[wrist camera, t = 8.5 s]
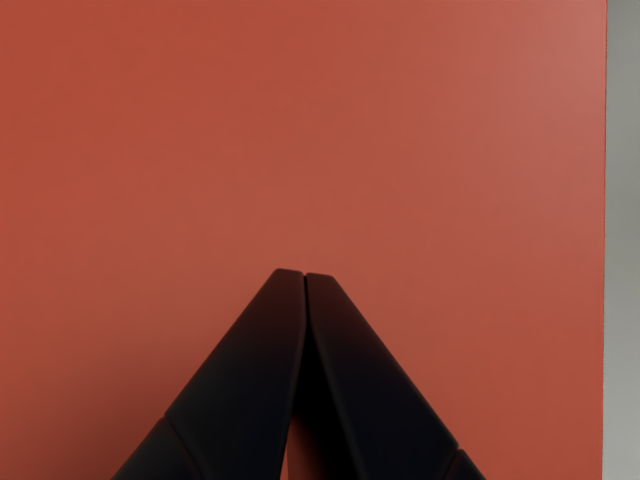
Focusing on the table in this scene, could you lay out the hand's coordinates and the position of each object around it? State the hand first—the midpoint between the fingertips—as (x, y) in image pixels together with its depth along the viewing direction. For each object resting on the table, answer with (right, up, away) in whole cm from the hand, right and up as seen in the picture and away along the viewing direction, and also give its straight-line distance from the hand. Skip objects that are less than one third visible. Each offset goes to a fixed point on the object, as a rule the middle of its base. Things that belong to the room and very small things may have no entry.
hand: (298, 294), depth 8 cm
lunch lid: (0, +1, +3) cm, 3 cm away
